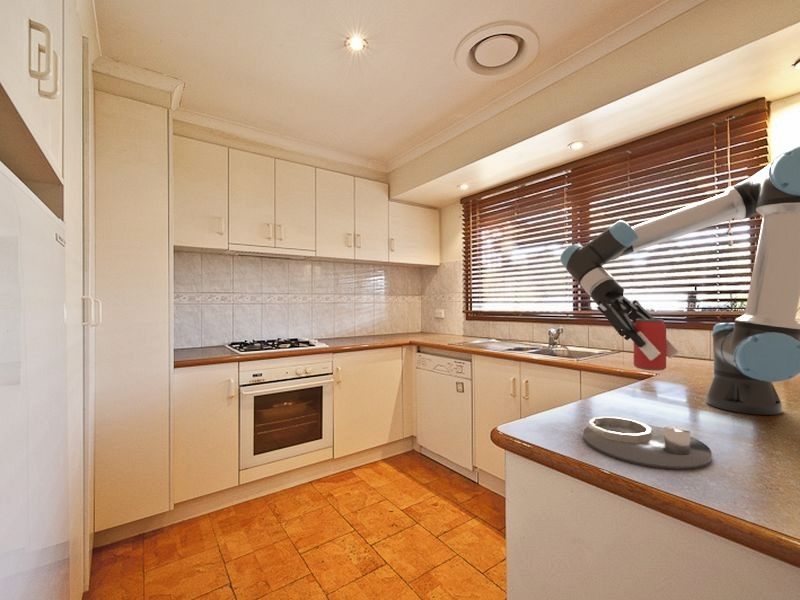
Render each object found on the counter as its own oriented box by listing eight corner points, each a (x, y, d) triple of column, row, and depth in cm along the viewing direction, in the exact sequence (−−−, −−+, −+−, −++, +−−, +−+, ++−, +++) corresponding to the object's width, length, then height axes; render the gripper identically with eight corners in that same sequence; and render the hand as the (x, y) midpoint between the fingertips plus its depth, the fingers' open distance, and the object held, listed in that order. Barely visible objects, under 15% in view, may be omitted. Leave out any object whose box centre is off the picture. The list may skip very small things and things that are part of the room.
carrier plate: (673, 429, 85) (672, 407, 85) (742, 474, 63) (741, 444, 63) (572, 424, 89) (571, 403, 89) (604, 465, 67) (603, 437, 67)
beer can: (661, 366, 91) (661, 318, 91) (670, 372, 85) (670, 320, 84) (630, 365, 93) (630, 318, 93) (637, 370, 87) (637, 320, 87)
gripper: (617, 297, 106) (678, 361, 92) (568, 298, 99) (626, 368, 84) (634, 278, 102) (702, 343, 87) (585, 277, 94) (650, 348, 79)
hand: (665, 355), depth 85 cm, fingers closed on beer can, 6 cm apart
